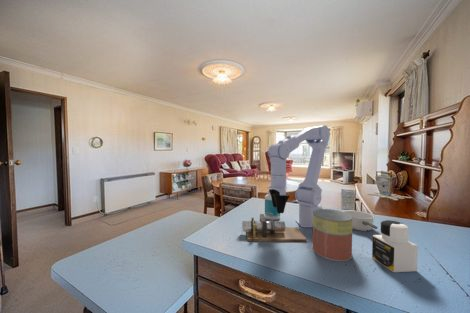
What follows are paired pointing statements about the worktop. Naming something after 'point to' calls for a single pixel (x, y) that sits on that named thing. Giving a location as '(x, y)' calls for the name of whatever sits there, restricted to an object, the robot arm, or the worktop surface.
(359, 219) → the saucepan
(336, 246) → the canned food
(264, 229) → the iron collar
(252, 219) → the brass index gate
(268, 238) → the walnut board
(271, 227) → the air tube
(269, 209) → the pill bottle
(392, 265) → the medicine bottle
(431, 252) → the worktop surface
